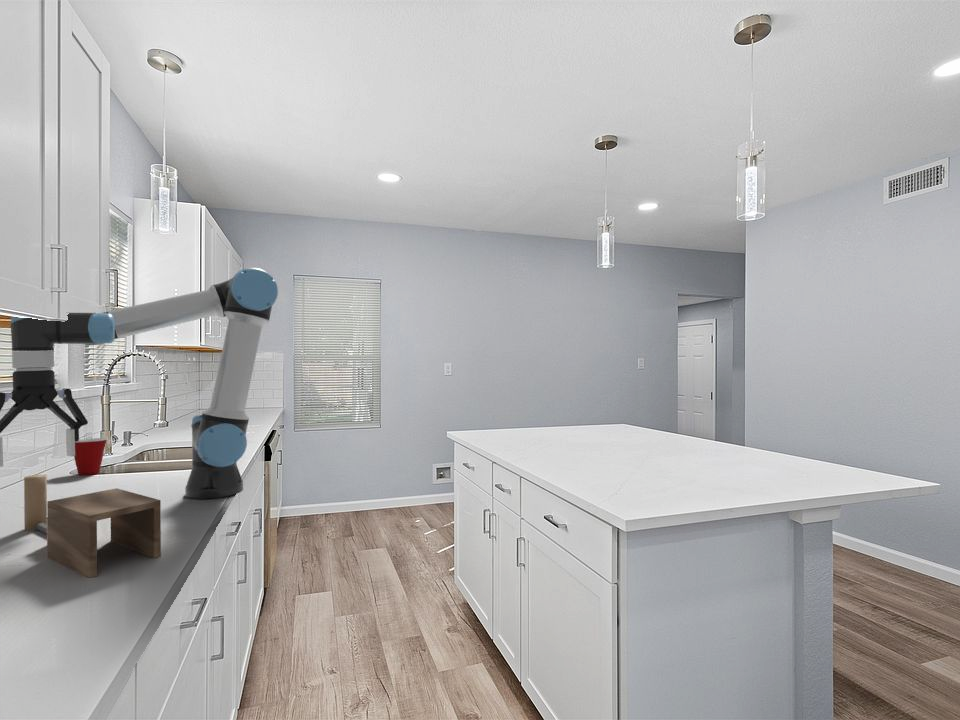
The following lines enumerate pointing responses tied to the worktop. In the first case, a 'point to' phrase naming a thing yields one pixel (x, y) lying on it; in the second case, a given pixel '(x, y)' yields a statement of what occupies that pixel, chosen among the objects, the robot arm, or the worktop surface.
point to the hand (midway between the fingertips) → (36, 461)
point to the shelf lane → (78, 526)
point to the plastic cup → (89, 455)
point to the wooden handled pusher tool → (35, 503)
